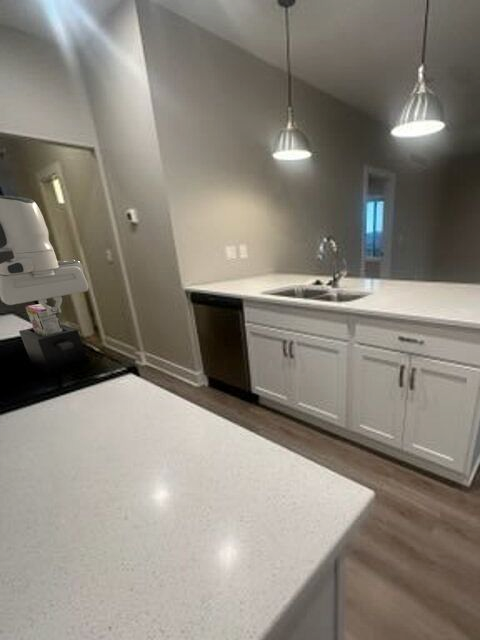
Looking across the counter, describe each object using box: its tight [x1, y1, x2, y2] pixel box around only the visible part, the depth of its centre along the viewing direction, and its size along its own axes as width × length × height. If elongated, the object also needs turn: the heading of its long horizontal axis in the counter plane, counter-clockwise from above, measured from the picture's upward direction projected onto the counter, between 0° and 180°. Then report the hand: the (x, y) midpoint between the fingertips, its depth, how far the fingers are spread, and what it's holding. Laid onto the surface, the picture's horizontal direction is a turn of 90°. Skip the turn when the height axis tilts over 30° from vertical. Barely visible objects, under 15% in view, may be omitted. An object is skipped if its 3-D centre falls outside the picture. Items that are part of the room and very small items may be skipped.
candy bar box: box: [25, 303, 62, 337], centre depth 106 cm, size 11×5×16 cm, turn 51°
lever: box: [56, 341, 74, 350], centre depth 100 cm, size 3×4×1 cm
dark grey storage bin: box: [18, 323, 89, 376], centre depth 108 cm, size 10×17×11 cm, turn 52°
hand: (54, 313), depth 96 cm, fingers closed
